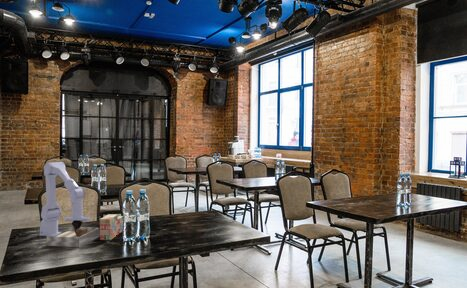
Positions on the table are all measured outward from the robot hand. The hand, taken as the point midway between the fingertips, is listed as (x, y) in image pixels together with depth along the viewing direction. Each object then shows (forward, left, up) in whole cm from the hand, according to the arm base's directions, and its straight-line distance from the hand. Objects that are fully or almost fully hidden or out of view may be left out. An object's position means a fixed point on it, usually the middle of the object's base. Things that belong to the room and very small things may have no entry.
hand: (77, 233), depth 208 cm
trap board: (-2, 0, -4) cm, 5 cm away
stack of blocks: (+13, +15, -4) cm, 20 cm away
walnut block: (+3, 0, -1) cm, 3 cm away
